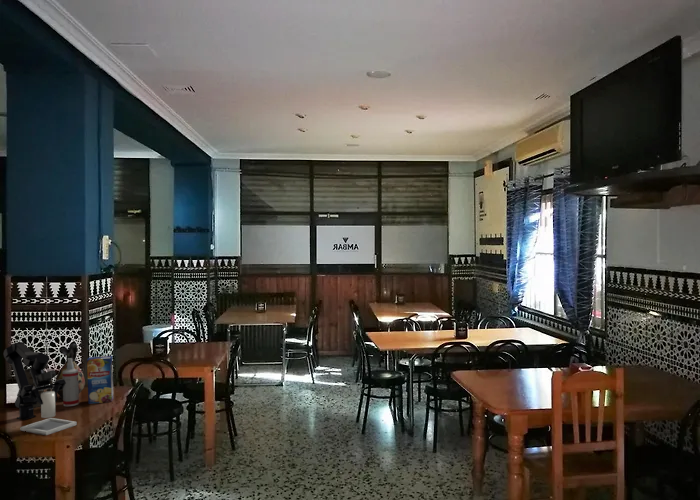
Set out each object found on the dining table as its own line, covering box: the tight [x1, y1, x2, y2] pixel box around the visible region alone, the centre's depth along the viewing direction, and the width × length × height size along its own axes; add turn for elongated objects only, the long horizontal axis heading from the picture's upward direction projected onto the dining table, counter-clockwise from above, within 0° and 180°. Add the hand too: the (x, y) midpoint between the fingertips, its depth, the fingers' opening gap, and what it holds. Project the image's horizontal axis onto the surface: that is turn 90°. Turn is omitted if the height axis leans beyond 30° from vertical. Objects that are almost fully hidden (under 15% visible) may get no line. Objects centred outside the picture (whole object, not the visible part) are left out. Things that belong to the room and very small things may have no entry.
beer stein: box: [24, 368, 53, 409], centre depth 319 cm, size 15×11×20 cm
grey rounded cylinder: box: [40, 390, 56, 419], centre depth 278 cm, size 6×6×11 cm
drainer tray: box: [19, 417, 77, 436], centre depth 279 cm, size 18×16×2 cm
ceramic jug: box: [54, 343, 86, 400], centre depth 335 cm, size 17×15×30 cm
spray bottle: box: [62, 358, 80, 407], centre depth 319 cm, size 8×8×25 cm
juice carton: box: [86, 355, 114, 405], centre depth 325 cm, size 12×8×24 cm, turn 105°
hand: (49, 402), depth 278 cm, fingers closed on grey rounded cylinder, 6 cm apart
